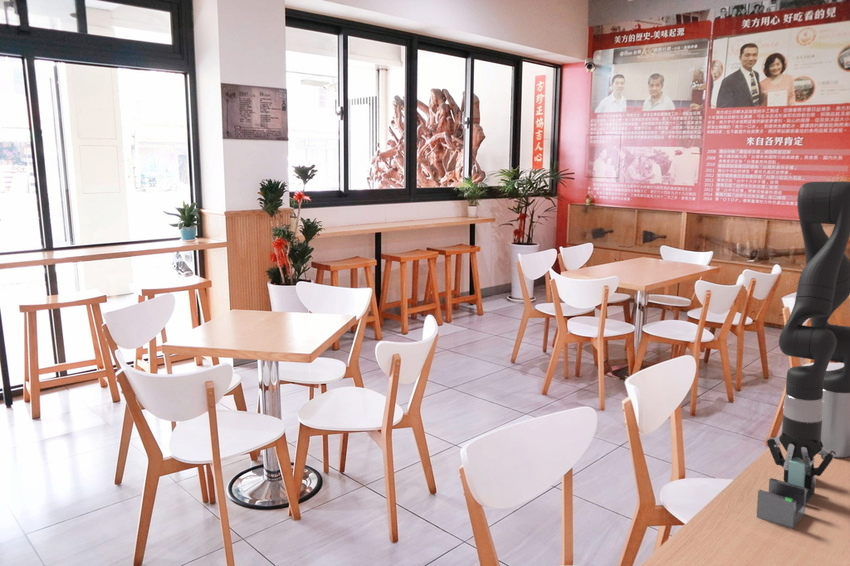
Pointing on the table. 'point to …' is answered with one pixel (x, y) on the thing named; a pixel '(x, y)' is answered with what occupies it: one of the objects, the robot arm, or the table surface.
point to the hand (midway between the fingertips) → (797, 486)
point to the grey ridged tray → (810, 493)
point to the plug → (796, 472)
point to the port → (782, 503)
